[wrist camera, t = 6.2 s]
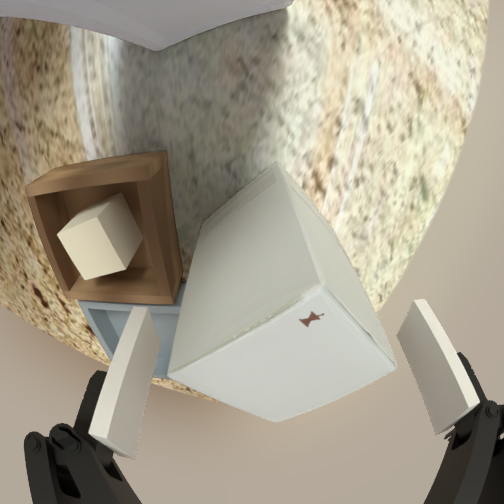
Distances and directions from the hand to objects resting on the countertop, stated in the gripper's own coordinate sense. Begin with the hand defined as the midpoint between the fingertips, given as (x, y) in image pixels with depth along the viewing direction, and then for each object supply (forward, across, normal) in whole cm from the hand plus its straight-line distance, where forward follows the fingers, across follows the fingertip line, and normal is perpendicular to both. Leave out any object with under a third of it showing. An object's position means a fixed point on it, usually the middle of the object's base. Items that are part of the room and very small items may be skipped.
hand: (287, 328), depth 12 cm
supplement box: (+10, 0, 0) cm, 10 cm away
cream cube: (+9, -12, +2) cm, 15 cm away
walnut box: (+9, -12, +2) cm, 15 cm away
